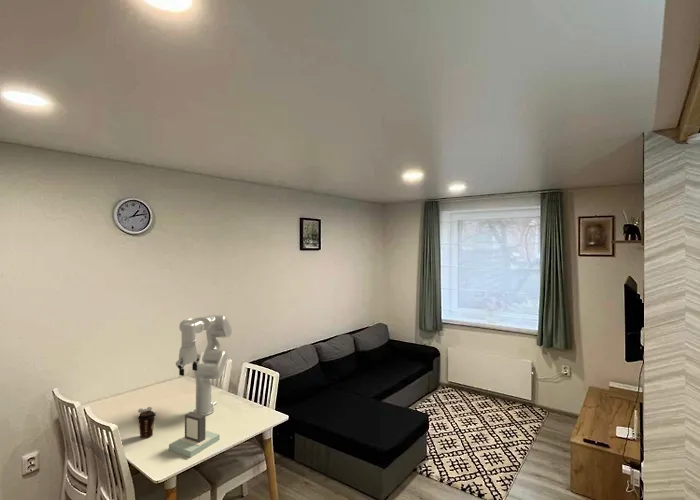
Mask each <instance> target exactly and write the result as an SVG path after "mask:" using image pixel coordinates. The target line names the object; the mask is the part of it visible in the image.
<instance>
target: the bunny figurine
mask: <svg viewBox="0 0 700 500" xmlns="http://www.w3.org/2000/svg"><path fill="white" fill-rule="evenodd" d="M152 410H153V409H152V406H148V407H147V408H144V409H143V408H138V411H137V412H138V413H139V414H140V413H142V412H145V411H152ZM153 412H154V413H155V416H154V418H155V417H156V416H157V412H155V411H153Z"/></svg>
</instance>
